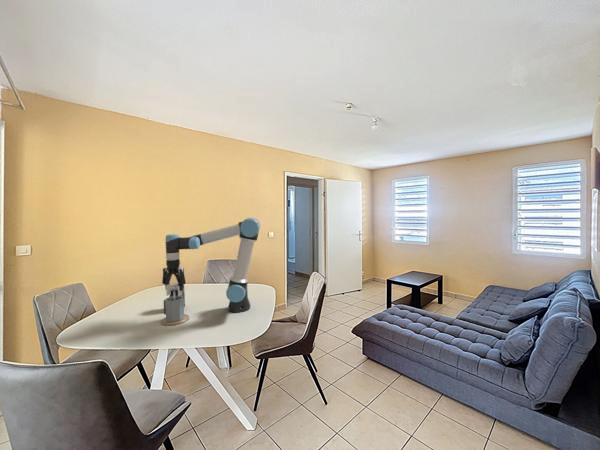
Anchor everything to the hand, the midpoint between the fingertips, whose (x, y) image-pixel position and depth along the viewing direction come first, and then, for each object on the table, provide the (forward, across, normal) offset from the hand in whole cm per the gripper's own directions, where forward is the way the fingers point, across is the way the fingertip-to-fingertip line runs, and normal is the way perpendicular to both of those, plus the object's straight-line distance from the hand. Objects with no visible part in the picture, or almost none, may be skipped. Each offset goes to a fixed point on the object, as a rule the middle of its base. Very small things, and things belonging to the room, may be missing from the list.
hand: (174, 295), depth 157 cm
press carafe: (+16, 0, 0) cm, 16 cm away
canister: (+16, +12, -17) cm, 26 cm away
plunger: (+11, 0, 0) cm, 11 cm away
